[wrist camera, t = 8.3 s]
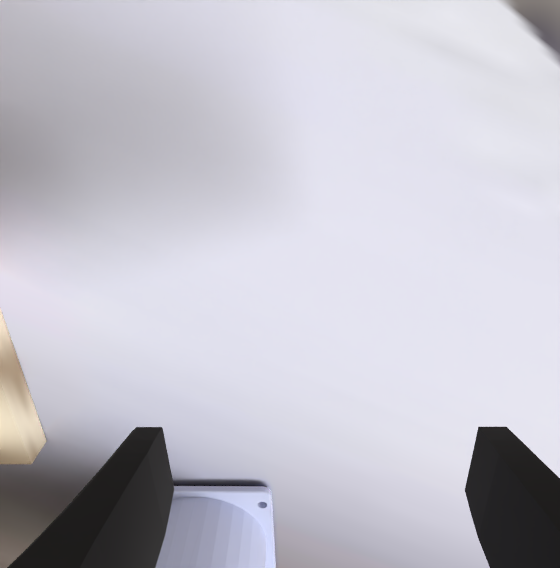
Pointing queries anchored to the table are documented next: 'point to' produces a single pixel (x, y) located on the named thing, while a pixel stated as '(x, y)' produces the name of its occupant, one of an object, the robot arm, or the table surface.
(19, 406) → the display stand
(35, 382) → the table surface
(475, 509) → the robot arm
